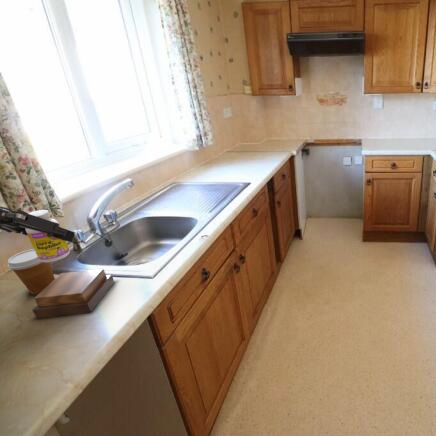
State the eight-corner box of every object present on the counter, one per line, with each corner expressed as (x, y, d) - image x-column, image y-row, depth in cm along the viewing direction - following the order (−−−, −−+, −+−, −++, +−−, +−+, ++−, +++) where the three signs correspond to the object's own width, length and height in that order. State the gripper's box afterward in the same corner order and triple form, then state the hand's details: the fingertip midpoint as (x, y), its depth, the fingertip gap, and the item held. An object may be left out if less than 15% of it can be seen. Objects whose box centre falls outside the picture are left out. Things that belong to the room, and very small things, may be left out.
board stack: (36, 318, 88) (27, 301, 85) (67, 287, 100) (59, 271, 98) (91, 312, 89) (83, 294, 87) (114, 282, 102) (108, 266, 99)
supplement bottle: (39, 266, 83) (17, 221, 77) (41, 255, 88) (20, 212, 82) (70, 257, 86) (52, 213, 81) (71, 248, 91) (53, 206, 86)
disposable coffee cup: (18, 301, 95) (-1, 267, 90) (30, 284, 103) (13, 252, 98) (57, 292, 98) (41, 259, 93) (66, 276, 106) (51, 244, 101)
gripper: (8, 188, 66) (96, 224, 88) (-70, 187, 69) (34, 222, 91) (-7, 222, 64) (87, 251, 85) (-87, 220, 67) (24, 248, 88)
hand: (60, 236), depth 88 cm, fingers closed on supplement bottle, 7 cm apart
